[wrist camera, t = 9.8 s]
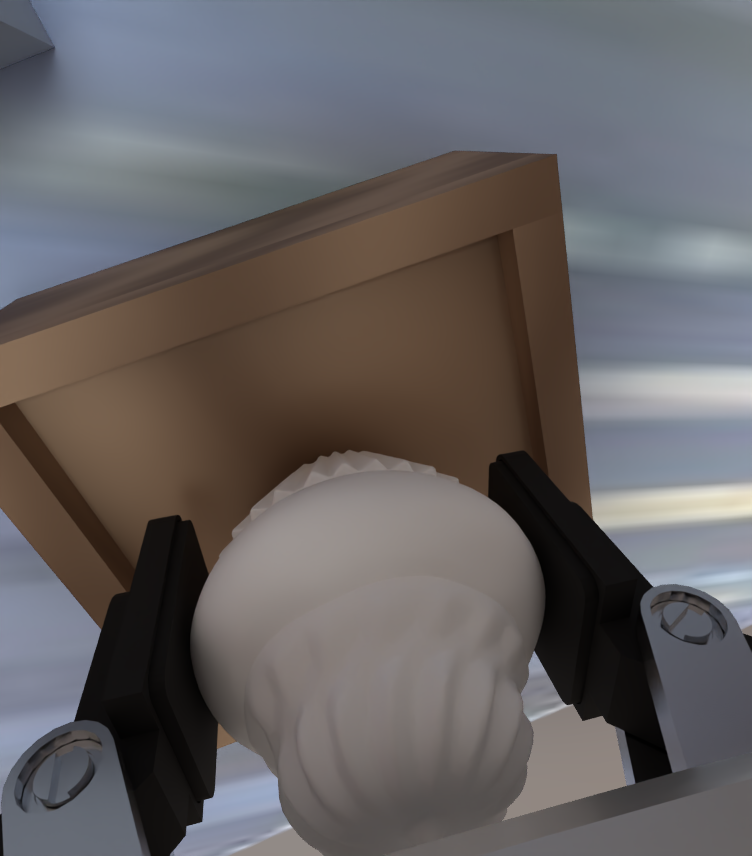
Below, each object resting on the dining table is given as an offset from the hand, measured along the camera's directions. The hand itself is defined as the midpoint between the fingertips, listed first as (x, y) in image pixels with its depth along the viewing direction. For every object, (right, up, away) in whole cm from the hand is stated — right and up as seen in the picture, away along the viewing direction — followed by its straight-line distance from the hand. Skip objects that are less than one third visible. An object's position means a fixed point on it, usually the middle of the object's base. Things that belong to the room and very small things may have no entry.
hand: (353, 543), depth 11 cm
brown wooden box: (-2, +3, +6) cm, 7 cm away
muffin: (0, +1, +1) cm, 1 cm away
